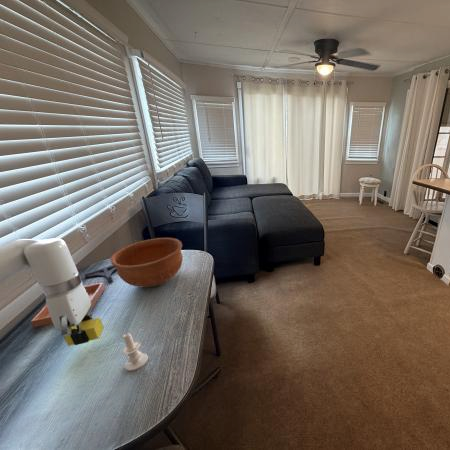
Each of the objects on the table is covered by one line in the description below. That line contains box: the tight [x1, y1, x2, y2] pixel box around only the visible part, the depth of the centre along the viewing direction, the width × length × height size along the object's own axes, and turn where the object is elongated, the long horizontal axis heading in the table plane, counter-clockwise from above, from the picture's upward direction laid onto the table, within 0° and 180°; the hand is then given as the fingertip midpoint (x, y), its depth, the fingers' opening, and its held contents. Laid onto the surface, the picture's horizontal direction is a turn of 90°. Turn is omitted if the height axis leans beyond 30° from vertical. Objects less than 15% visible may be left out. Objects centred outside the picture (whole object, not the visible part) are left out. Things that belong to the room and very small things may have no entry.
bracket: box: [83, 264, 117, 284], centre depth 105 cm, size 14×15×3 cm
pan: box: [30, 282, 106, 328], centre depth 87 cm, size 14×17×3 cm
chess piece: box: [122, 332, 149, 372], centre depth 63 cm, size 5×5×10 cm
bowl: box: [109, 237, 183, 288], centre depth 98 cm, size 25×25×15 cm
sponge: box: [63, 317, 104, 347], centre depth 70 cm, size 7×4×4 cm, turn 112°
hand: (85, 335), depth 70 cm, fingers closed on sponge, 4 cm apart
